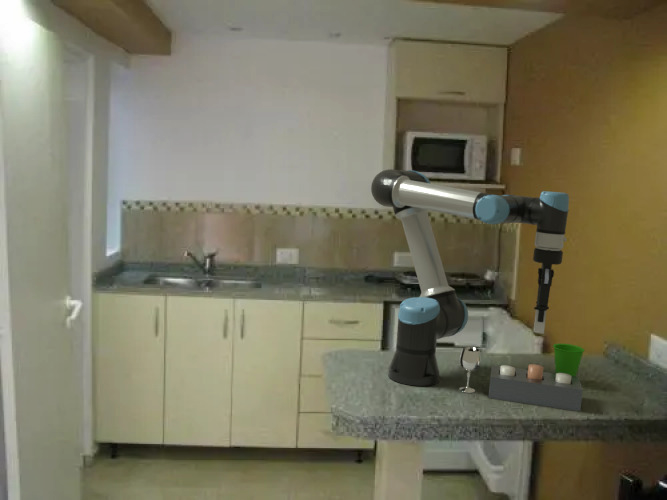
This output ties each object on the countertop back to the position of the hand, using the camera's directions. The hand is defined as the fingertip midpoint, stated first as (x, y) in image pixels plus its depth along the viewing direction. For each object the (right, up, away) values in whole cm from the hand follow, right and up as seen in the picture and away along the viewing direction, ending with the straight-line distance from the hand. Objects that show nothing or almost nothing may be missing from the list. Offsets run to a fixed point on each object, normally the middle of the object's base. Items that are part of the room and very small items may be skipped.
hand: (538, 332), depth 180 cm
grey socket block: (-1, -19, +2) cm, 19 cm away
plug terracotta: (-1, -17, +2) cm, 17 cm away
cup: (+14, -18, +18) cm, 29 cm away
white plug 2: (+6, -19, 0) cm, 20 cm away
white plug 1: (-8, -17, +4) cm, 20 cm away
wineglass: (-19, -17, +5) cm, 26 cm away
